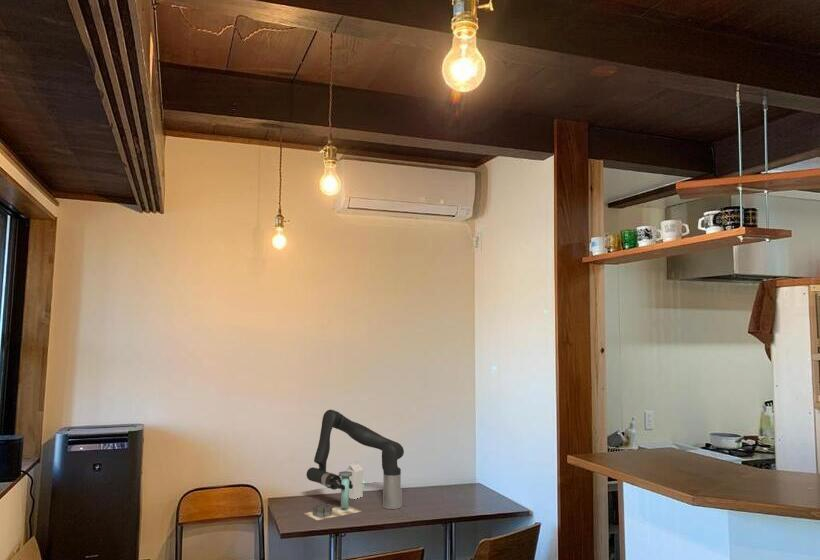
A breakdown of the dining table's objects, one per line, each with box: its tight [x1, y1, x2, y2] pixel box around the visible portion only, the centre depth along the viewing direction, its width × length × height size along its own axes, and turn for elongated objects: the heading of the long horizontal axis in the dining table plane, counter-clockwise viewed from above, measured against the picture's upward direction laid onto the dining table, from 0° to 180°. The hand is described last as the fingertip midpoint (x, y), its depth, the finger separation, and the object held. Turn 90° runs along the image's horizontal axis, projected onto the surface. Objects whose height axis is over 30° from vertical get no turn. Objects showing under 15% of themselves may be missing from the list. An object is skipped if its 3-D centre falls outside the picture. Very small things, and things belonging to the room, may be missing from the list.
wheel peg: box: [338, 470, 352, 508], centre depth 311 cm, size 7×7×17 cm
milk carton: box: [345, 461, 364, 500], centre depth 341 cm, size 7×7×19 cm
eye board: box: [303, 503, 363, 521], centre depth 306 cm, size 26×14×6 cm, turn 128°
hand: (348, 487), depth 309 cm, fingers closed on wheel peg, 4 cm apart
